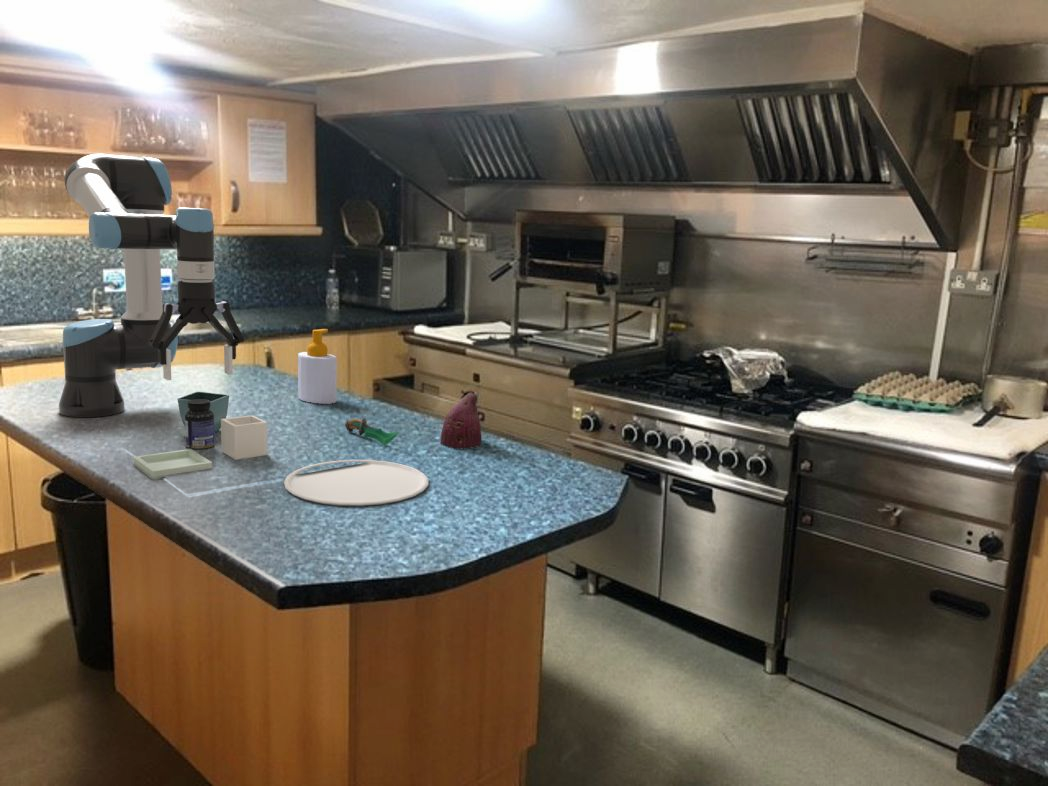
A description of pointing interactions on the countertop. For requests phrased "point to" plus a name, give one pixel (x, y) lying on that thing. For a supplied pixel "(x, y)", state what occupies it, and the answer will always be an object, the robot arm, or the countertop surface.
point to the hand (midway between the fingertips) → (198, 376)
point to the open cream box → (244, 437)
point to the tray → (171, 463)
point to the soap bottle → (317, 372)
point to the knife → (370, 431)
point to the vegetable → (462, 424)
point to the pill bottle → (199, 425)
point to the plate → (357, 483)
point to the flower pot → (216, 406)
